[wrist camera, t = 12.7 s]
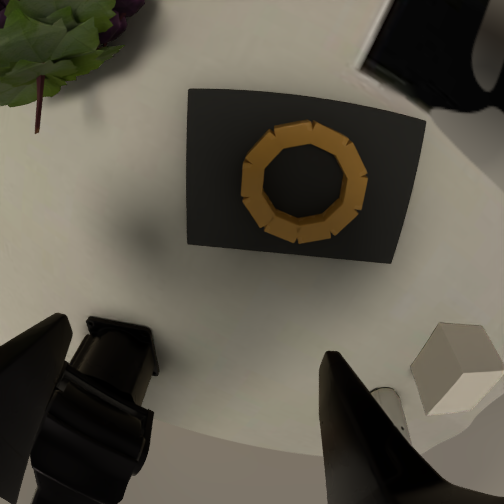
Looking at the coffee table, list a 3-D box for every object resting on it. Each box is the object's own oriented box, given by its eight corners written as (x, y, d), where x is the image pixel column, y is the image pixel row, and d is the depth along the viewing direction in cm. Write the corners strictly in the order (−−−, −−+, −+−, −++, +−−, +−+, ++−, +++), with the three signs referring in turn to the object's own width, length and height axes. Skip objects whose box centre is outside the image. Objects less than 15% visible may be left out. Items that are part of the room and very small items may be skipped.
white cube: (481, 325, 24) (507, 370, 19) (453, 366, 27) (471, 410, 22) (438, 322, 24) (463, 373, 19) (409, 366, 27) (425, 416, 22)
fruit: (161, -58, 13) (157, 122, 17) (34, -20, 12) (14, 154, 16) (138, -151, 3) (87, 76, 7) (-31, -74, 2) (-97, 159, 6)
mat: (422, 119, 16) (426, 121, 15) (388, 259, 21) (391, 264, 20) (190, 88, 16) (188, 88, 16) (189, 240, 21) (187, 244, 21)
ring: (370, 129, 16) (376, 133, 15) (348, 240, 20) (352, 249, 19) (247, 113, 16) (246, 115, 15) (239, 229, 20) (237, 238, 19)
